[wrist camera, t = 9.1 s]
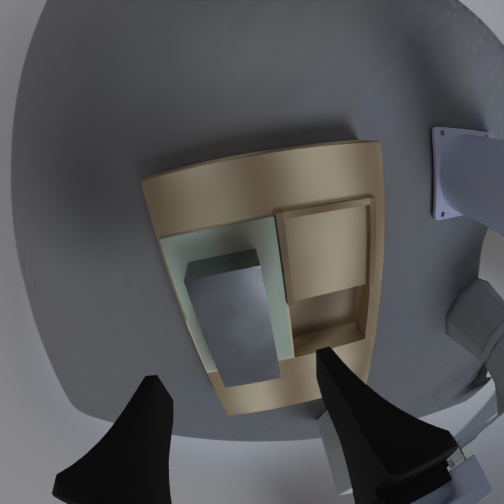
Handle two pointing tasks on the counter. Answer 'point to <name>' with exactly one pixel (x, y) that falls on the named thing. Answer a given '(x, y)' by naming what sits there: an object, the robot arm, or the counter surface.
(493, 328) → the coffee maker
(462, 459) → the syrup box
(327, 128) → the counter surface
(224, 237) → the bamboo board
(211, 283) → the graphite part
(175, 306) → the counter surface
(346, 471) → the skincare box
